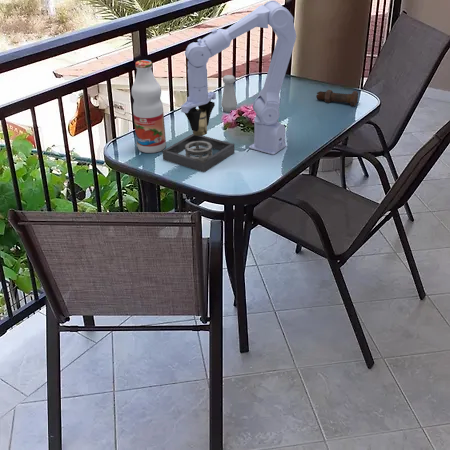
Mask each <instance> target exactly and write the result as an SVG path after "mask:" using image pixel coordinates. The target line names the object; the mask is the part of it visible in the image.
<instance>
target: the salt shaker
mask: <svg viewBox="0 0 450 450" xmlns="http://www.w3.org/2000/svg"><path fill="white" fill-rule="evenodd" d="M235 81H236V78H235V76H234V75H232V74H225V75H224V76H223V77H222V83H224V85H223V91H222V98H221V107H222V110H223V111H224V113H231V112H230V111H231V110H234V109H235V110H236V109H237V106H238V101H237V96H236V91H235V86H234V83H235Z"/></svg>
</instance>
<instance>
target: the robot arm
mask: <svg viewBox="0 0 450 450" xmlns="http://www.w3.org/2000/svg"><path fill="white" fill-rule="evenodd" d="M269 27H271V28H272V29H271V30H273V32H274V34H275V35H276V37H277V39H276V42H275V46H274V50H273V53H272V56H271V60H270V63H269V67H268V71H267V75H266V77H265V81H264V83H263V87H262V88H261V90H259V93H258V96H257V97H256V98H255V99H254V101H253V103H252V110H253V112H254V113H255V114H256V115H255V117H254V123H253V125H254V129H253V130H254V132H253V133H254V134H253V137H254V139H253V140H254V142H253V143H252V144H251V145H249V146H248V149H251V150H255V151H259V152H262V153H265V154H269V155H276V154H277V153H278V152H279V151H281V150H282V149H284V148H286V146H287V145H286V126H285V125H284V124H283V123H281V122H279V118H280V114H281V113H280V105H281V99H280V93H281V90H282V86H283V82H284V80H285V77H286V73H287V70H288V67H289V63H290V60H291V56H292V53H293V49H294V46H295V43H296V40H297V39H296V38H297V32H296V28H295V24H294V16H293V14H292V13H291V12H290V11H289V9H287V7H284V6H283V5H281V3H279V2H278V1H276V0H269V1H267V2H265V3H264V4H261V5H259V6H257V7H256V8H254V10H253V11H251V12H249V13H248V14H247V15H245V16H244V17H242V18H241V19H239V20H238V21H236V22H235V23H233V24H232V25H231V26H229V27H228V28H225V29H223V28H218V29H216V28H213V29H212V30H211V32H210V33H209V34H207V35H206V36H204V37H203V38H198V39H197V40H196V41H197V42H194V41H193V42H191V43H189V44H188V45H187V47H186V48H185V51H184V55H185V57H186V59H187V81H188V82H187V84H188V96H187V97H186V102H184V103H183V104H182V105H181V106H180V112H181V113H183V114H185V115H184V116H186V118H187V120H188V123H189V126H190V128H191V131H192V132H193V131H198V130H199V118H200V114H201V111H198V110H197V109H204V110H206V114H207V117H206V118H207V127H208V126H209V123H210V120H211V119H210V118H211V114H212V113H213V112H212V111H213V110H214V107H215V105H216V103H215V102H213V100H216V92H213V91H209V89H208V88H209V85H208V69H207V64H208V62H209V59H211V58H213V57H215V56H216V55H217V54H219V53H221V52H222V51H224V50H226V49H228V48H229V47H230V46H231V43H232V41H233V40H234V39H236V38H238V37H240V36H242V35H244V34H246V33H248V32H249V31H251V30H253V29H255V28H263V29H269ZM197 107H198V108H197Z"/></svg>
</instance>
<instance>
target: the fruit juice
mask: <svg viewBox="0 0 450 450" xmlns="http://www.w3.org/2000/svg"><path fill="white" fill-rule="evenodd" d="M152 68H153V62H152V61H151V60H148V59H142V60H141V59H140V60H137V61H135V69H136V74H135V78H134V82H133V83H132V86H131V97H132V98H133V103H132V114H133V120H134V122H133V123H134V130H135V139H136V146H137V149H138V151H140V152H142V153H146V154H155V153H159V152H162V151H163V150H165V148H166V146H167V141H166V140H167V139H166V138H167V137H166V127H165V126H166V125H165V117H164V106H163V102H162V100H161V97H162V96H161V95H162V87H161V84H160V83H159V82H158V81H157V79H156V77H155V75H154V72H153V69H152Z"/></svg>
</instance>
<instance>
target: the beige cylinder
mask: <svg viewBox="0 0 450 450" xmlns="http://www.w3.org/2000/svg"><path fill="white" fill-rule="evenodd" d="M196 109H197V110H198V111H201V114H200V118H199V130H198V131H193V130H192V134H194V135H196V136H205V135H207V134H208V126H207V118H206V117H207V114H206V110H204V109H199V108H196Z"/></svg>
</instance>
